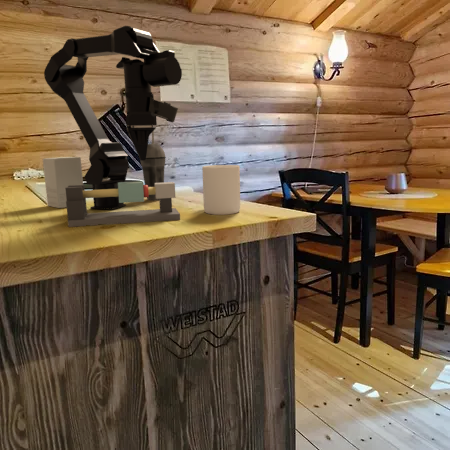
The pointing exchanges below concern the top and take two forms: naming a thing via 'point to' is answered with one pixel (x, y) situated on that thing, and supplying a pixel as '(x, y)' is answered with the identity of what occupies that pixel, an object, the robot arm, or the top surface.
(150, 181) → the beverage cup
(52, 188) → the supplement box
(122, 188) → the sleeve
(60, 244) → the top surface
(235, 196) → the mug
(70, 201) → the grey peg fixture
